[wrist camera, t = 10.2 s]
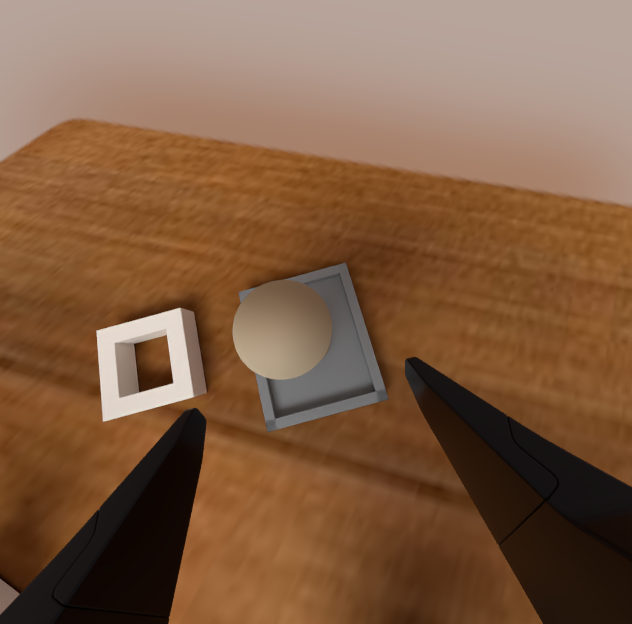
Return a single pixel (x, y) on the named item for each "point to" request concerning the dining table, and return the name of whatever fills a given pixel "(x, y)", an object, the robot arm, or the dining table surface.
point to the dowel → (282, 329)
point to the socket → (122, 370)
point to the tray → (327, 361)
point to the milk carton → (6, 595)
